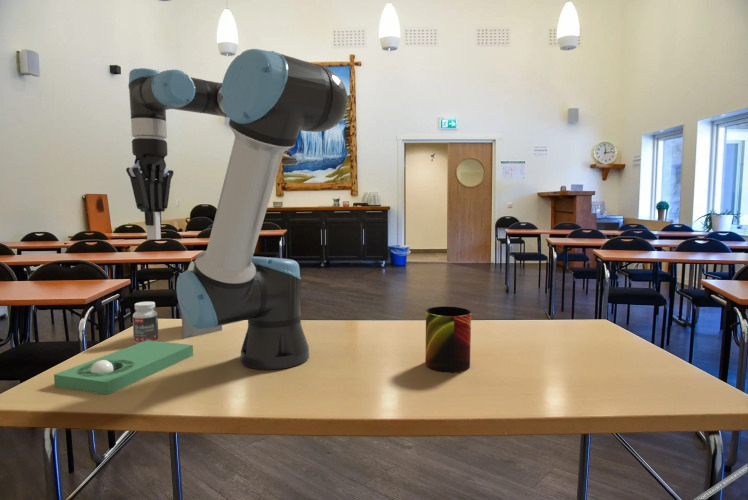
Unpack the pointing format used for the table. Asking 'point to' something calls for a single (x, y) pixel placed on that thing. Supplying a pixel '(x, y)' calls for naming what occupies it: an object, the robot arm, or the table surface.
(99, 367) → the ball
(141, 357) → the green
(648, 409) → the table surface
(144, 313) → the pill bottle
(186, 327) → the planter
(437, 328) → the mug
